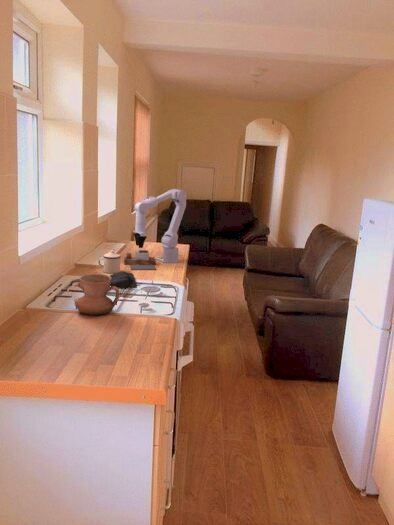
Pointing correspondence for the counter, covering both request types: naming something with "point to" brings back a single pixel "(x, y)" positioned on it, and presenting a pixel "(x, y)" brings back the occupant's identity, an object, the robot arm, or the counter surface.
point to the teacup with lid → (111, 262)
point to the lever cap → (142, 254)
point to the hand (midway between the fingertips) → (139, 246)
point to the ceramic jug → (95, 294)
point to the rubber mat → (142, 267)
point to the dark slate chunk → (123, 280)
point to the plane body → (138, 260)
